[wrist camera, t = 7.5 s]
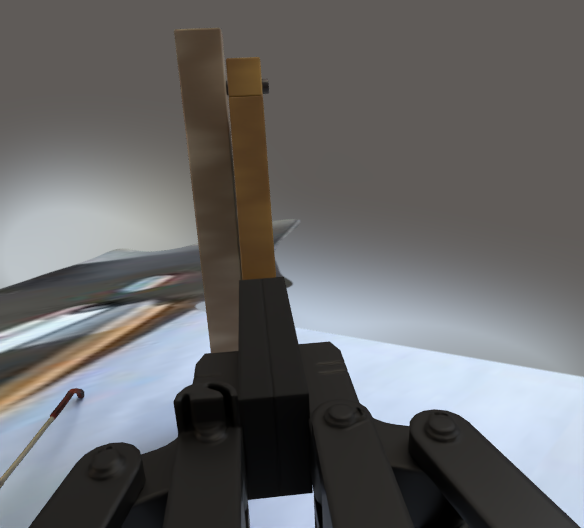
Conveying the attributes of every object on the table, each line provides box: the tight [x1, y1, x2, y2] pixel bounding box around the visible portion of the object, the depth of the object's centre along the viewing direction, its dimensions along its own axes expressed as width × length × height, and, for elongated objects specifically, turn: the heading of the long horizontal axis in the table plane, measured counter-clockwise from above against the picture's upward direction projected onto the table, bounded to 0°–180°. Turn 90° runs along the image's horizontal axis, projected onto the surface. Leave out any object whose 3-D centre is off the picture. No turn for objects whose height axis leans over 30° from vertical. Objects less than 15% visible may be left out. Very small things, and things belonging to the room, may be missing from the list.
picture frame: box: [226, 57, 276, 280], centre depth 28 cm, size 1×16×12 cm, turn 5°
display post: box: [174, 28, 269, 353], centre depth 32 cm, size 8×10×27 cm
